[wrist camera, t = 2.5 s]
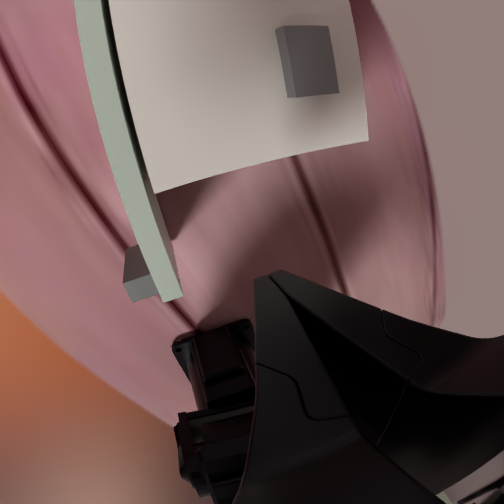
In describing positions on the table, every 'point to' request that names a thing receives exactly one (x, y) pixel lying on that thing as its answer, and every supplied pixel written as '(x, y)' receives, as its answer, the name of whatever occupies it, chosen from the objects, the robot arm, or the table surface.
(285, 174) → the table surface
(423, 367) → the robot arm
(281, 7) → the camera case
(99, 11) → the side door
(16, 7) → the table surface
